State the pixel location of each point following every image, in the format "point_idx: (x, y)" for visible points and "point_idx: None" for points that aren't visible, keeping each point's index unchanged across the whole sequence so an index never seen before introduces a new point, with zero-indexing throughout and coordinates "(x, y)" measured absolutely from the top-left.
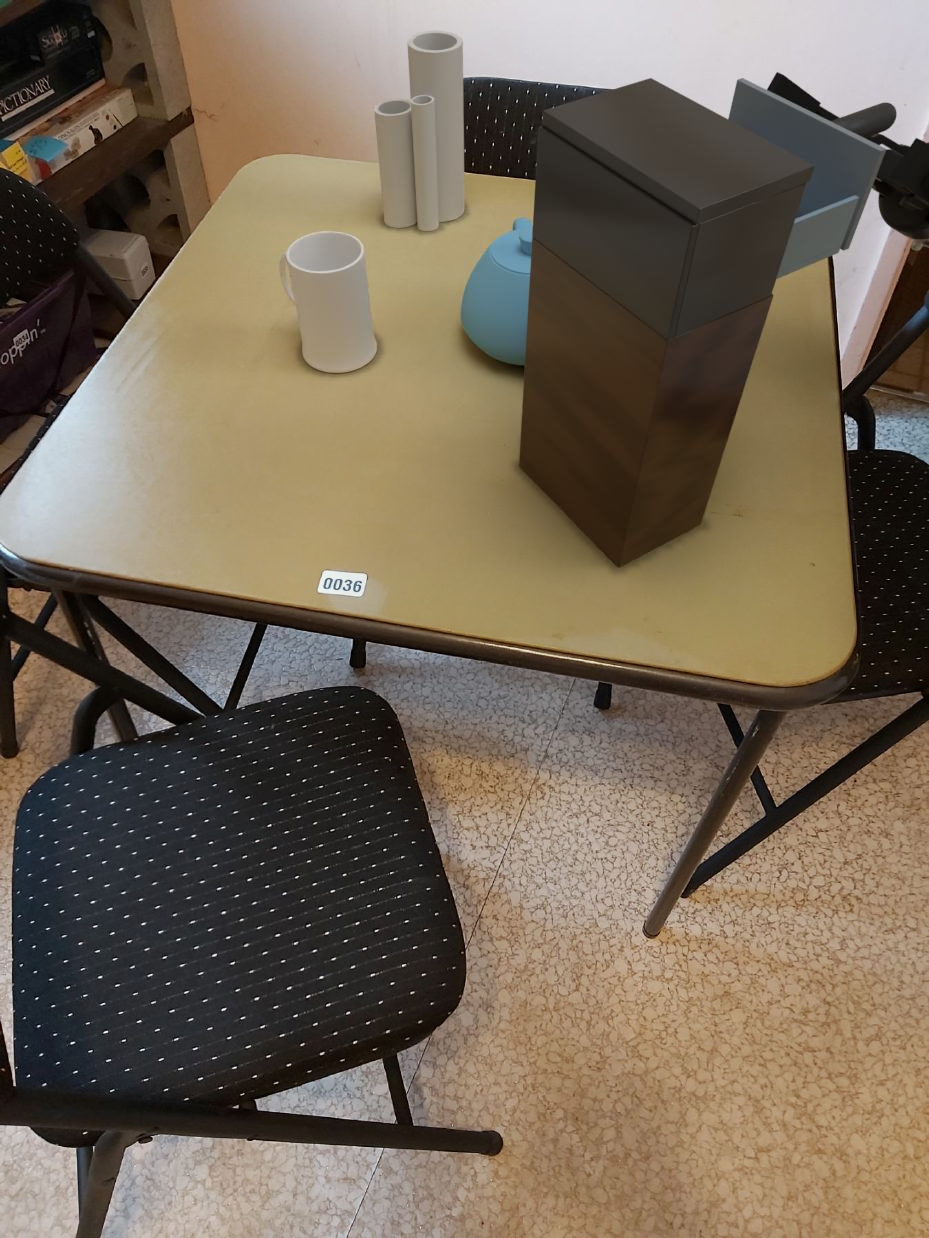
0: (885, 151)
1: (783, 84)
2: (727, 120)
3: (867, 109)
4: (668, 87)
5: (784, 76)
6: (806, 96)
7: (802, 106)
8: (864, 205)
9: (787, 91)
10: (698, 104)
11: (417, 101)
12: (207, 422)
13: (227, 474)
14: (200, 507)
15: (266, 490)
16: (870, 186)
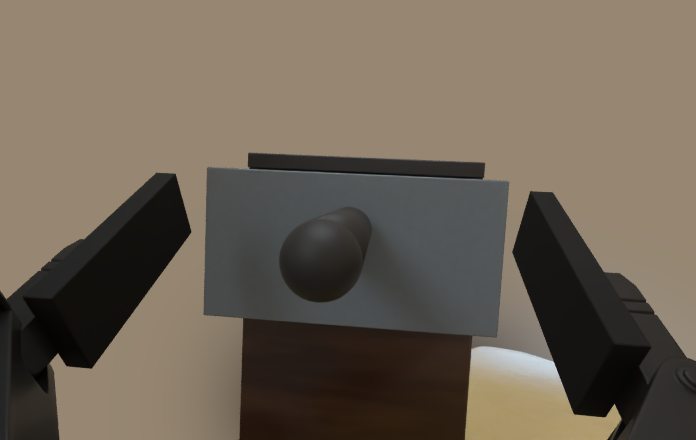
0: (207, 170)
1: (531, 211)
2: (360, 157)
3: (339, 215)
4: (454, 161)
5: (532, 194)
6: (573, 278)
7: (566, 302)
8: (205, 246)
9: (539, 234)
10: (404, 159)
11: None
12: (570, 405)
13: (509, 396)
14: (484, 382)
15: (485, 401)
16: (208, 219)
